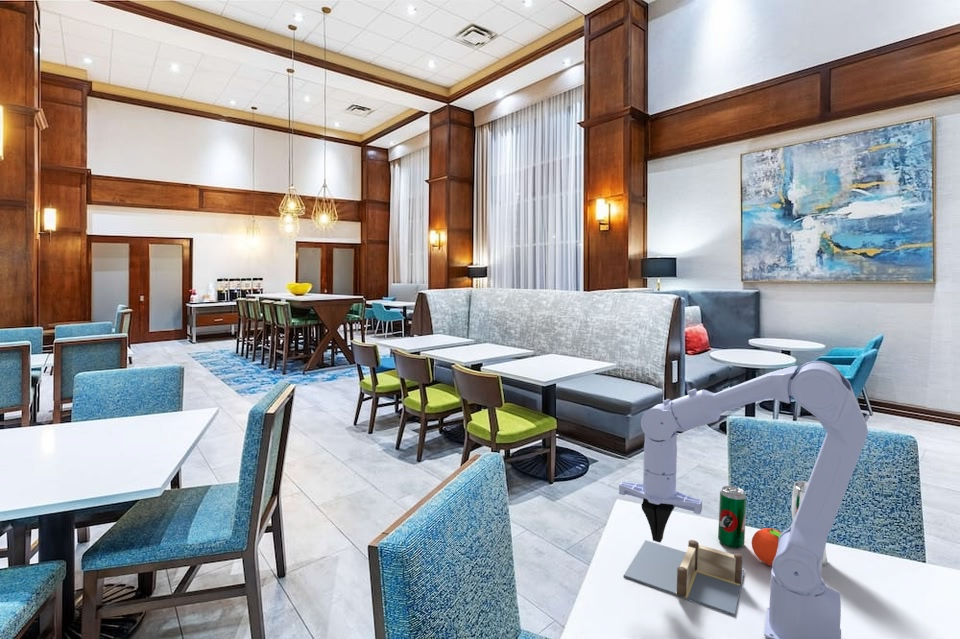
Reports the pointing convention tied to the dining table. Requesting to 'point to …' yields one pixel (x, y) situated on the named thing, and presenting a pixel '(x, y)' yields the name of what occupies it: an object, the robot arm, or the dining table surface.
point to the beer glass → (796, 500)
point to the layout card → (660, 572)
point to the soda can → (732, 517)
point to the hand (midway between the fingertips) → (657, 539)
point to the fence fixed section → (717, 562)
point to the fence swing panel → (685, 571)
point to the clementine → (766, 544)
